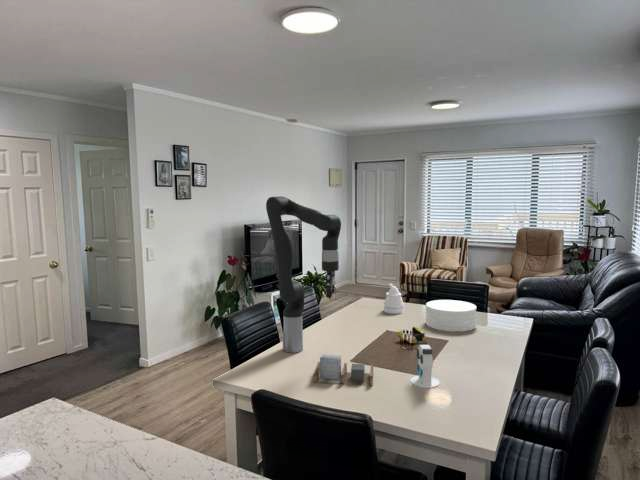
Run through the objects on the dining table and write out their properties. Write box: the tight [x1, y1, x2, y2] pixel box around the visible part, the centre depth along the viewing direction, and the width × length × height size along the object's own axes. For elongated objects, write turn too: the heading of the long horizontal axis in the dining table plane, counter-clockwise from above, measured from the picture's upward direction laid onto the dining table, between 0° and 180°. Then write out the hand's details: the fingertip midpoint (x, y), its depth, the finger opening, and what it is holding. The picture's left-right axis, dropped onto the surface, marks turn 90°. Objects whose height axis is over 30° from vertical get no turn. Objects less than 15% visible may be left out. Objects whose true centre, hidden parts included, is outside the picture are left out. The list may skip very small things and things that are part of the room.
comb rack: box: [313, 361, 374, 387], centre depth 174 cm, size 23×12×5 cm, turn 81°
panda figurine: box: [409, 340, 441, 389], centre depth 172 cm, size 12×11×15 cm
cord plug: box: [350, 363, 366, 382], centre depth 175 cm, size 5×10×5 cm, turn 172°
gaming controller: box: [396, 326, 427, 344], centre depth 223 cm, size 15×6×10 cm
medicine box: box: [319, 353, 342, 380], centre depth 174 cm, size 8×4×9 cm, turn 73°
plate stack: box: [425, 299, 477, 332], centre depth 251 cm, size 28×28×12 cm
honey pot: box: [383, 283, 405, 315], centre depth 281 cm, size 13×13×18 cm
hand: (330, 295), depth 193 cm, fingers open, 8 cm apart
